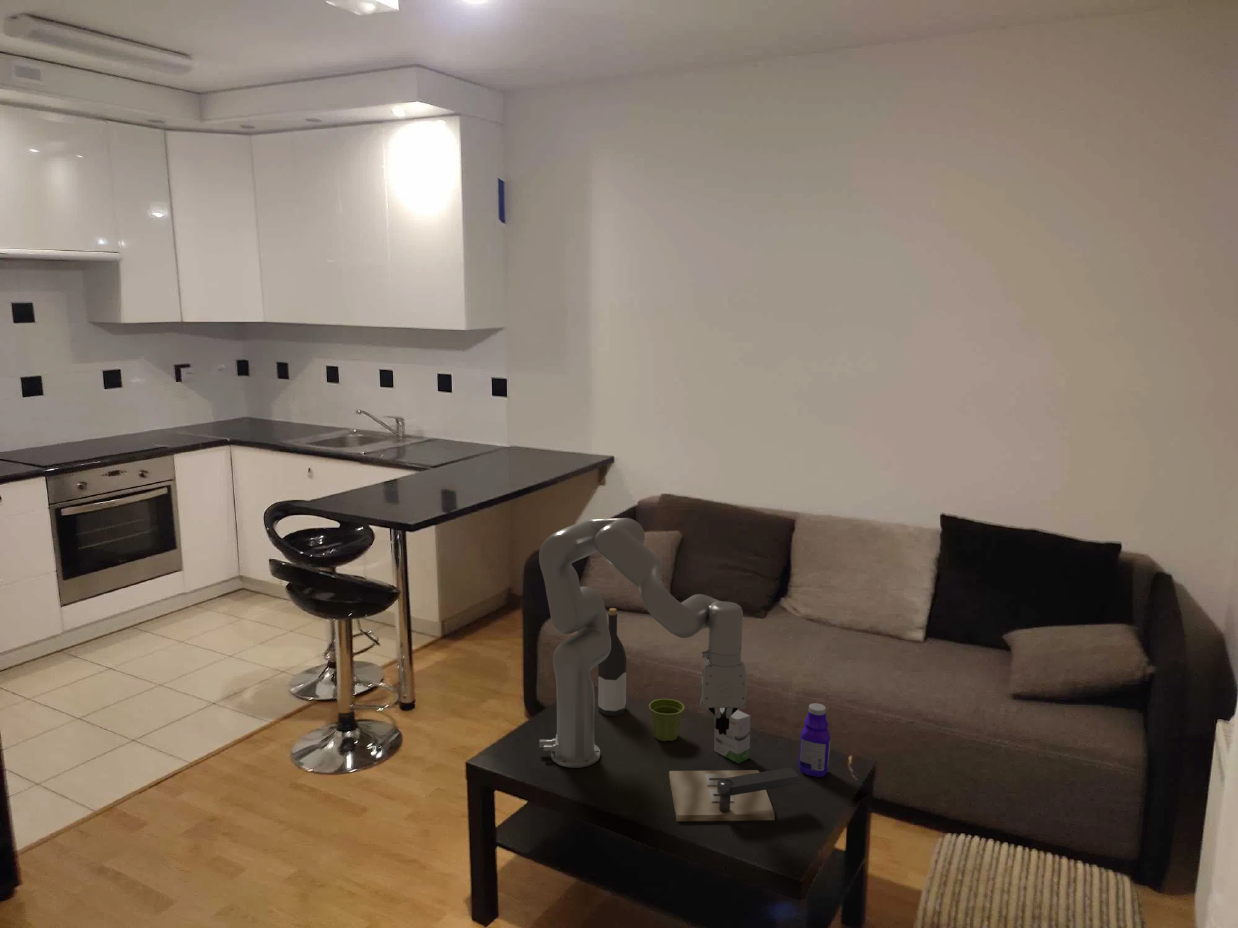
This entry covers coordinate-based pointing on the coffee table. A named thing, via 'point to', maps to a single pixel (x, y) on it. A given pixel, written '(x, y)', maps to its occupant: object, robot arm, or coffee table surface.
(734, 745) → the ink box
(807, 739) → the bottle
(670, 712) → the plant pot
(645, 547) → the robot arm
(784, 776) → the swing bar
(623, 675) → the wine bottle
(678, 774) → the label board
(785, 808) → the coffee table surface
